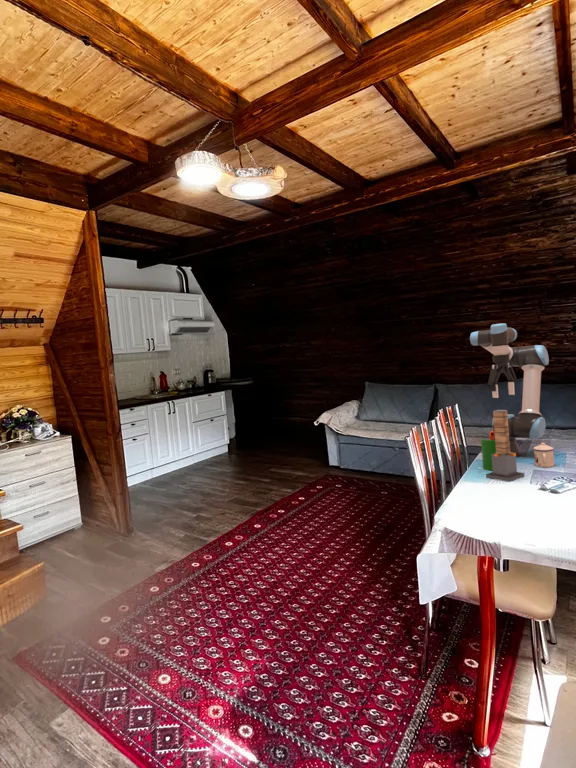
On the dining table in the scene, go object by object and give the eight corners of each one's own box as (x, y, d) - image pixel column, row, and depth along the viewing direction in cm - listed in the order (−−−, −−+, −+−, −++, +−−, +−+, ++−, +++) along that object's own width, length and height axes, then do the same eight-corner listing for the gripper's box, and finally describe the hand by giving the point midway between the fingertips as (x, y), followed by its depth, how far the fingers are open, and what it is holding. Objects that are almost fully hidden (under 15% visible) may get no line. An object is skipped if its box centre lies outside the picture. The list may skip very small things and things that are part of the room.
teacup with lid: (534, 463, 230) (532, 441, 230) (554, 463, 226) (552, 441, 226) (534, 468, 220) (533, 445, 219) (555, 469, 215) (554, 445, 215)
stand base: (501, 472, 219) (499, 448, 219) (524, 476, 209) (522, 451, 208) (486, 477, 213) (484, 452, 212) (509, 481, 203) (507, 455, 202)
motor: (501, 466, 231) (498, 428, 230) (507, 470, 222) (504, 431, 221) (481, 467, 232) (478, 430, 231) (487, 471, 223) (484, 432, 222)
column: (502, 455, 214) (498, 409, 213) (510, 457, 210) (507, 410, 209) (496, 457, 211) (492, 411, 210) (505, 458, 207) (501, 411, 206)
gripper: (508, 353, 230) (511, 393, 231) (478, 356, 217) (481, 398, 218) (522, 352, 223) (525, 393, 224) (492, 355, 211) (495, 399, 212)
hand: (503, 396), depth 221 cm, fingers open, 13 cm apart
